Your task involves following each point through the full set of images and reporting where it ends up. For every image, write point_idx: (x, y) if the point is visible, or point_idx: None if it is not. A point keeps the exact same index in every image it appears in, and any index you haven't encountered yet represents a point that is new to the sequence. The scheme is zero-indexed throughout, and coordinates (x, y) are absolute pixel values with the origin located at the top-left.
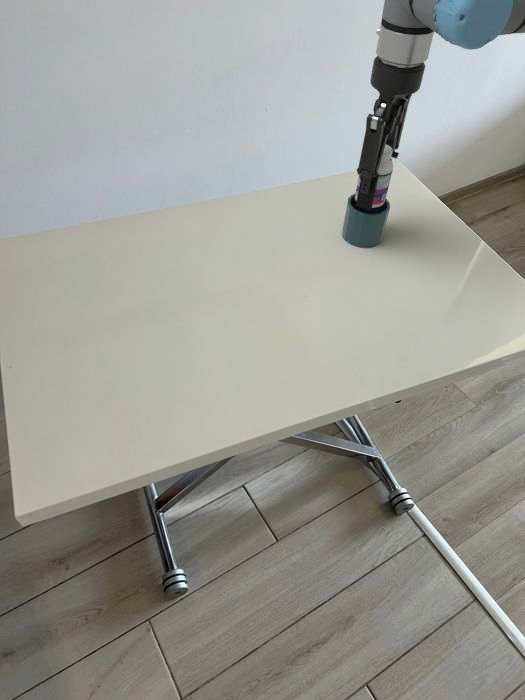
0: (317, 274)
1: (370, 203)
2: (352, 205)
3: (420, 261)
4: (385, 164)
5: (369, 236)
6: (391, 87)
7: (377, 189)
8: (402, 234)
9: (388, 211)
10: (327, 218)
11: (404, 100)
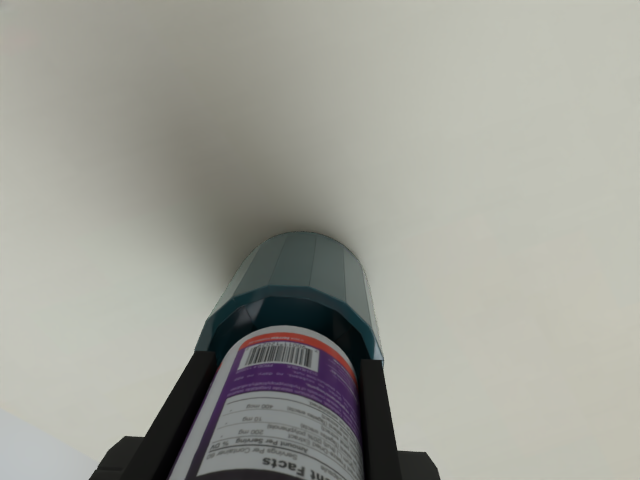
0: (557, 336)
1: (385, 387)
2: None
3: (333, 65)
4: None
5: (360, 277)
6: None
7: (351, 429)
8: (215, 179)
9: (285, 280)
10: None
11: None
